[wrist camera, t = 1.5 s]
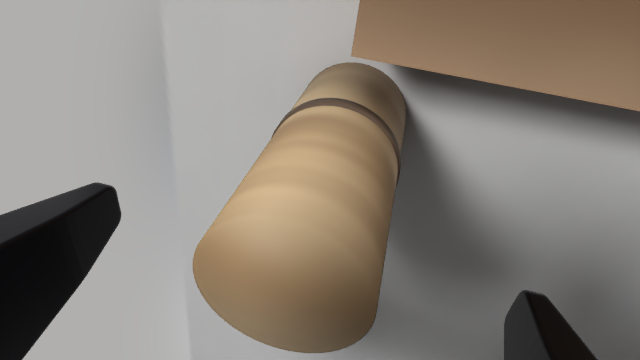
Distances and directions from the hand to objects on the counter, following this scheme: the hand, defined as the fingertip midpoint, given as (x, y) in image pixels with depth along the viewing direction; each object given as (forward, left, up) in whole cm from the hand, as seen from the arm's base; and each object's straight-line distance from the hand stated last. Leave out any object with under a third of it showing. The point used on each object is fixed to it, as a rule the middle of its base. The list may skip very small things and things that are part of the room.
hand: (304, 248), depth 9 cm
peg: (0, 0, -7) cm, 7 cm away
